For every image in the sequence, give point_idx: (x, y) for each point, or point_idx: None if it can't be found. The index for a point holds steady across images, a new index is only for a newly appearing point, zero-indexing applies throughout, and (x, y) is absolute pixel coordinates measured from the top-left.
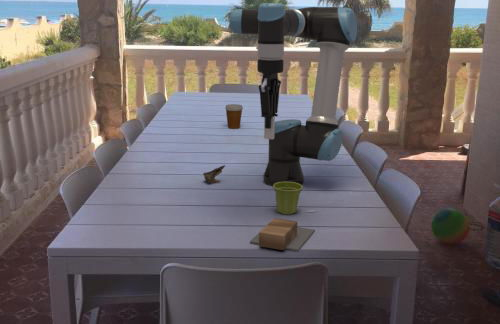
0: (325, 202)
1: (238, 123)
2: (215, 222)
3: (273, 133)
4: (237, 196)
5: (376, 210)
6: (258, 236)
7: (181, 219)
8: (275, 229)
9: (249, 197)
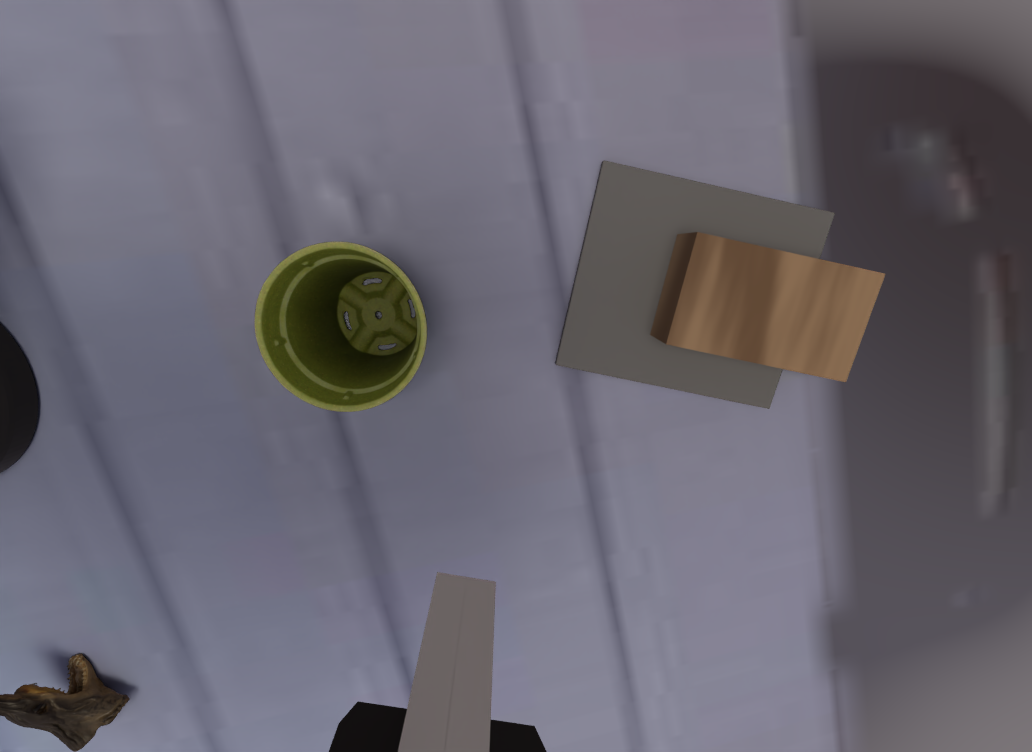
0: (188, 136)
1: None
2: (574, 564)
3: (462, 623)
4: (246, 548)
5: None
6: (716, 385)
7: (568, 678)
8: (807, 319)
9: (241, 499)
